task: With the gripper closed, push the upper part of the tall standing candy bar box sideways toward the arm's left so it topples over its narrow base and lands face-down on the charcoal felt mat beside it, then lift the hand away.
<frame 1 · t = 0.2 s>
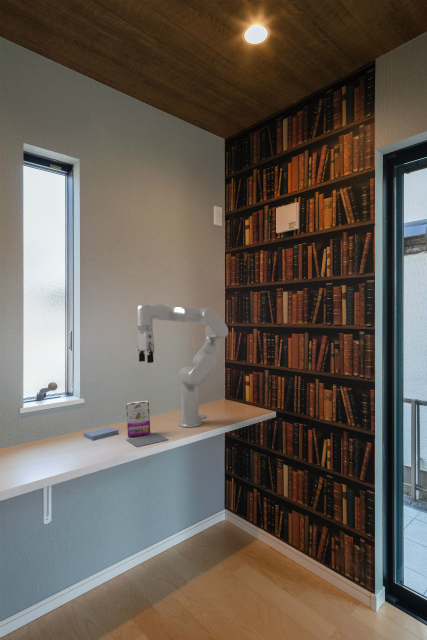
hand: (146, 362, 190), 36 cm above the table, tool pointing down, fingers open, 9 cm apart
mat: (147, 440, 177), on the table
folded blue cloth: (101, 436, 188), on the table
candy bar box: (138, 435, 185), on the table, touching mat
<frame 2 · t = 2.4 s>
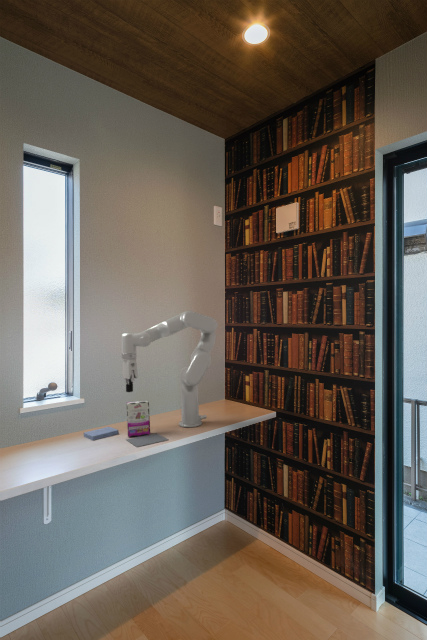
hand: (129, 391, 193), 21 cm above the table, tool pointing down, fingers closed
nothing on the table moved.
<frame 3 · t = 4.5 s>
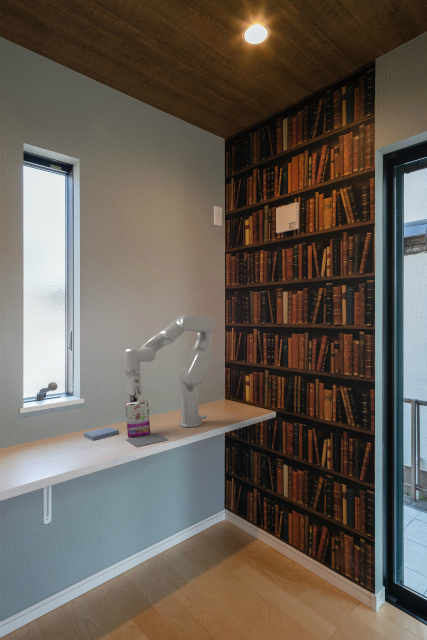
hand: (134, 408, 190), 13 cm above the table, tool pointing down, fingers closed
candy bar box: (138, 435, 185), on the table, touching gripper, mat
everything else where it was.
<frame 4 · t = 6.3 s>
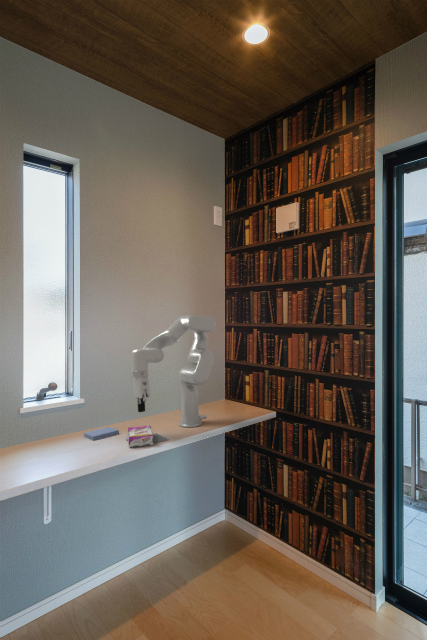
hand: (141, 411, 182), 13 cm above the table, tool pointing down, fingers closed
candy bar box: (139, 430, 183), point 3 cm above the table, touching mat
everything else where it was.
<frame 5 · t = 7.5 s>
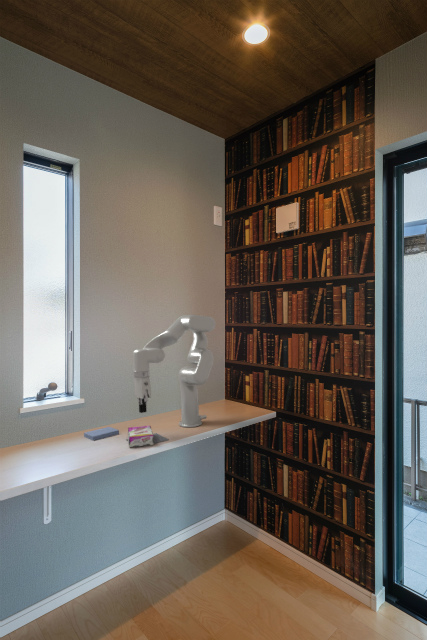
hand: (142, 412, 180), 13 cm above the table, tool pointing down, fingers closed
nothing on the table moved.
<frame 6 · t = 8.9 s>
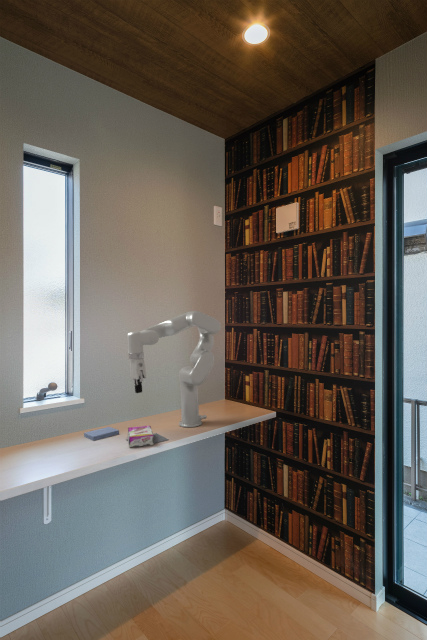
hand: (138, 392, 186), 21 cm above the table, tool pointing down, fingers closed
nothing on the table moved.
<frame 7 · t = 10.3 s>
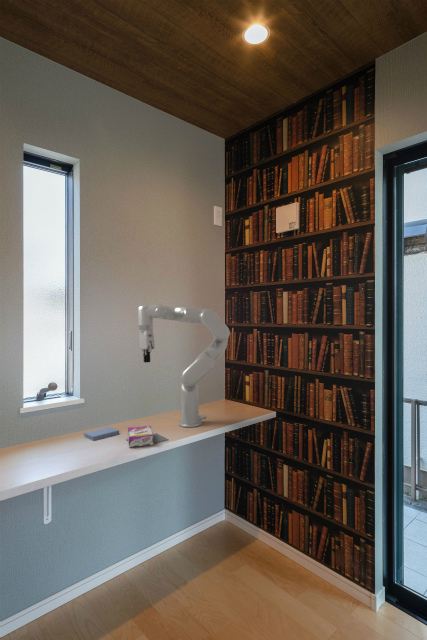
hand: (147, 362, 199), 35 cm above the table, tool pointing down, fingers closed
nothing on the table moved.
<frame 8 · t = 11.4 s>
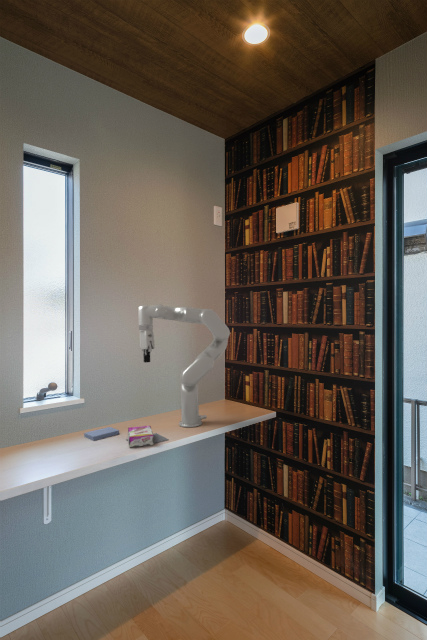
hand: (147, 362, 200), 35 cm above the table, tool pointing down, fingers closed
nothing on the table moved.
at the end: candy bar box tilted 91°; candy bar box inside the target area (2.9 cm from its centre), point 2.8 cm above the table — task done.
